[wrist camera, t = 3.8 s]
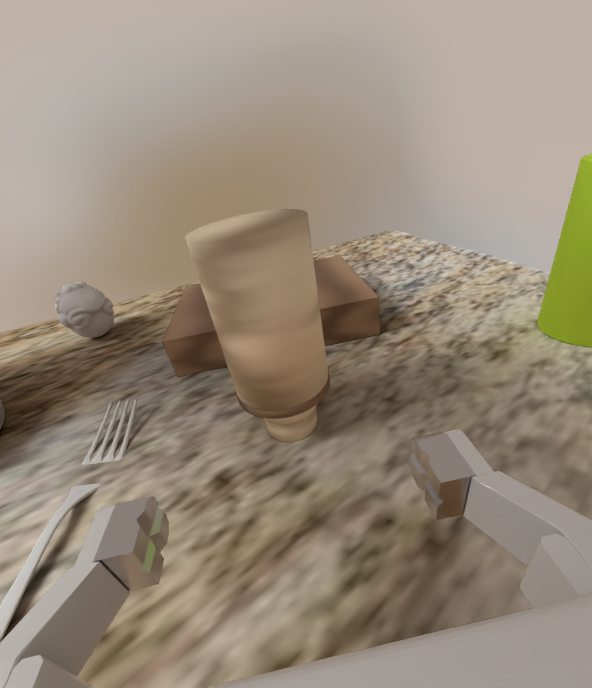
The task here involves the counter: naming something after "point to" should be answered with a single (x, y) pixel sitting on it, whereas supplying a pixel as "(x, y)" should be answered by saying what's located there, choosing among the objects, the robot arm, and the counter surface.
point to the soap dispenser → (572, 269)
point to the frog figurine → (84, 309)
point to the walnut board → (335, 308)
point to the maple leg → (266, 314)
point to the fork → (65, 511)
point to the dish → (1, 414)
